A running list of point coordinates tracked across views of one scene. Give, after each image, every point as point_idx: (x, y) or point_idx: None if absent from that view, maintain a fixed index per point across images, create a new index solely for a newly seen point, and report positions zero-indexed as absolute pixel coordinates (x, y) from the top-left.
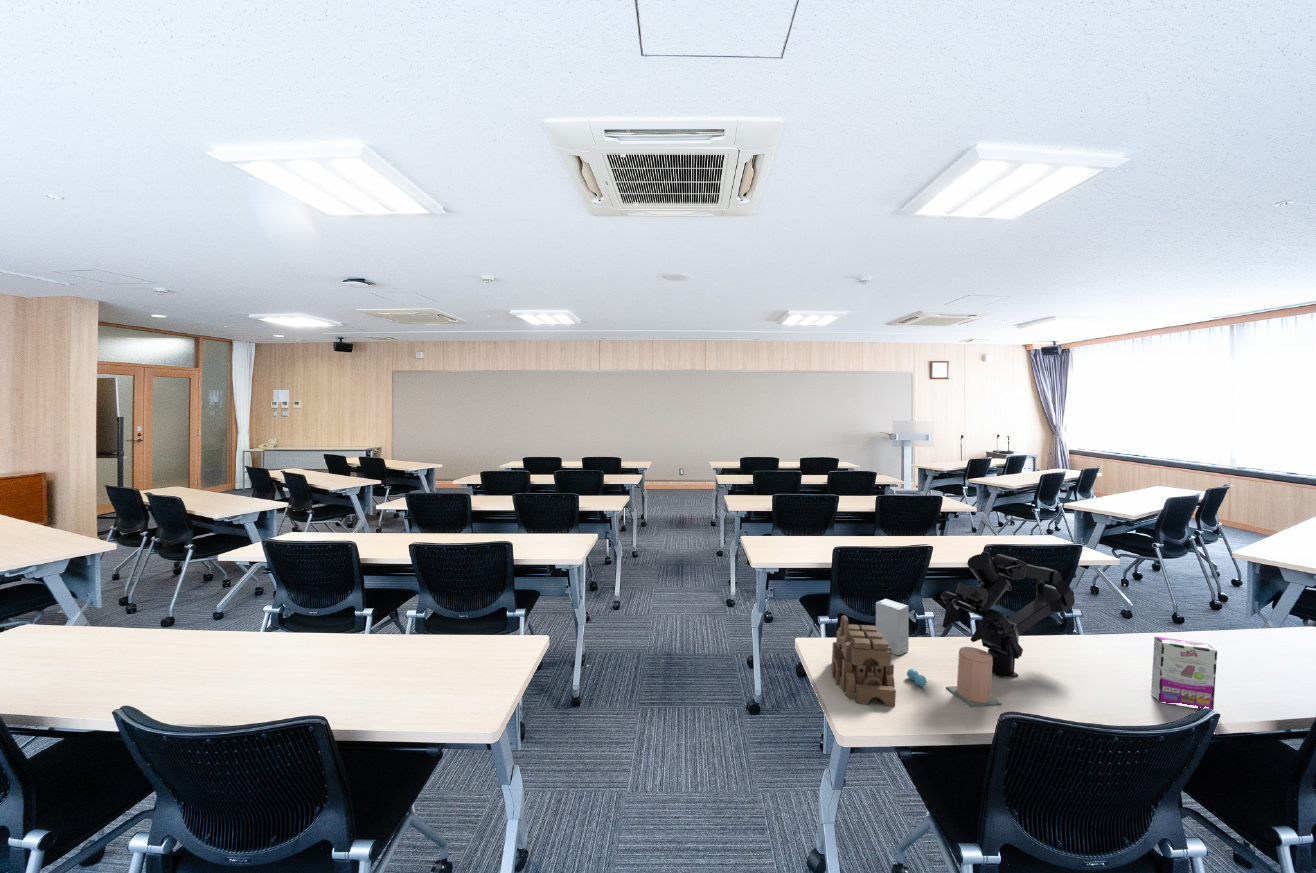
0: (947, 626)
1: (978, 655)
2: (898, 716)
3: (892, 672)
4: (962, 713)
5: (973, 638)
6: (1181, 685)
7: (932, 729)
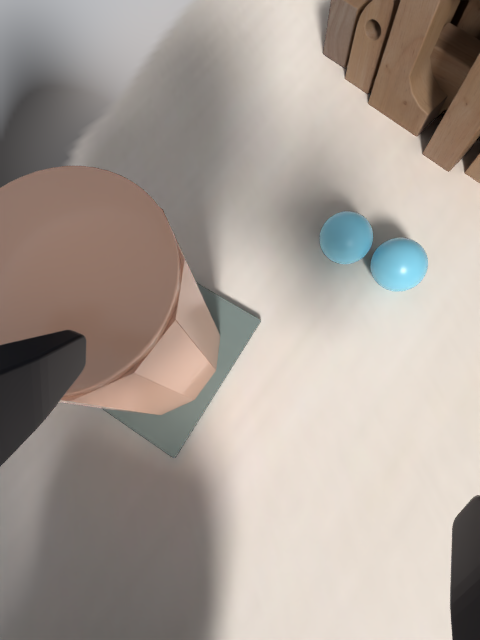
0: (451, 570)
1: (30, 252)
2: (283, 15)
3: (400, 5)
4: (146, 184)
5: (46, 340)
6: None
7: (183, 33)
